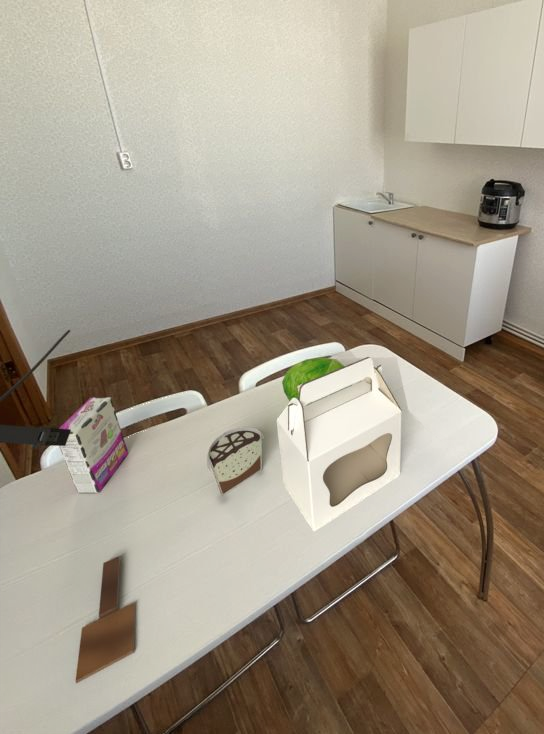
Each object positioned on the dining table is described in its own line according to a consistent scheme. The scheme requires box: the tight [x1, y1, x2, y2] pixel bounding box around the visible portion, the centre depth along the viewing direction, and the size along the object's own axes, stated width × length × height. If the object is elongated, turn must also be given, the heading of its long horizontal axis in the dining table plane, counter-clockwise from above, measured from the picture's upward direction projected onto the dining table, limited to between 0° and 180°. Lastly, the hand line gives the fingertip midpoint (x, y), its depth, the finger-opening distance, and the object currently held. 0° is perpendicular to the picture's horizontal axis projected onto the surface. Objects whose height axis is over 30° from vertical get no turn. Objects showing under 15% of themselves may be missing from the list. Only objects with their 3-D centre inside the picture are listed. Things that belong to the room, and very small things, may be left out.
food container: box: [206, 426, 265, 497], centre depth 83 cm, size 12×6×10 cm, turn 135°
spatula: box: [75, 555, 136, 684], centre depth 60 cm, size 16×7×1 cm, turn 28°
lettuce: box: [281, 356, 353, 406], centre depth 103 cm, size 17×20×17 cm
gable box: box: [275, 356, 403, 532], centre depth 78 cm, size 22×13×28 cm, turn 126°
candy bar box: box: [58, 396, 129, 494], centre depth 83 cm, size 11×5×16 cm, turn 179°
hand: (32, 434), depth 69 cm, fingers open, 13 cm apart
